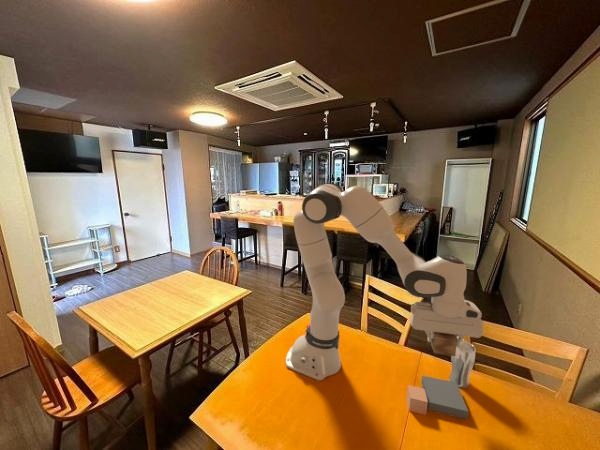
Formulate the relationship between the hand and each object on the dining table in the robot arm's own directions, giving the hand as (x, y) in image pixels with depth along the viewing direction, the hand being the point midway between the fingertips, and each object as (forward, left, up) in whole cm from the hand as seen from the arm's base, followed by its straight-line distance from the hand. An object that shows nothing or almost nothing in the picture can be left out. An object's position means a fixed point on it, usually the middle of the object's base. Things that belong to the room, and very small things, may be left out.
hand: (442, 343), depth 79 cm
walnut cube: (0, 0, -2) cm, 2 cm away
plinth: (+2, -2, -20) cm, 20 cm away
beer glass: (+10, +8, -20) cm, 24 cm away
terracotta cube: (-7, -7, -20) cm, 23 cm away
